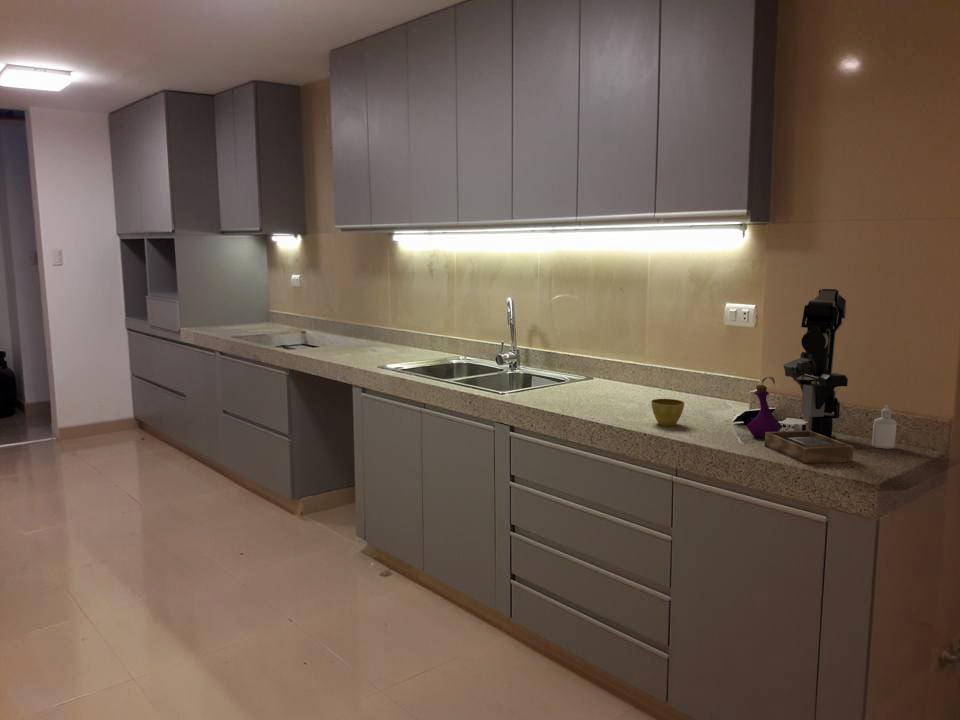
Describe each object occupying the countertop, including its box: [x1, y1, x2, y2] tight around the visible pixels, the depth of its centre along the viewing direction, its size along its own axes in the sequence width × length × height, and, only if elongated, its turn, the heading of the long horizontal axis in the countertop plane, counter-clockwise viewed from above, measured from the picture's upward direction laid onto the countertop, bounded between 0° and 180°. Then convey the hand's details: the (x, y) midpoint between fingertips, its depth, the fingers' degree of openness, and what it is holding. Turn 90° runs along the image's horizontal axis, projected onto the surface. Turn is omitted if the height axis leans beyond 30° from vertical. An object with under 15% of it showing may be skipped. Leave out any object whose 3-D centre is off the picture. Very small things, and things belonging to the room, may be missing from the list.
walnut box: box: [764, 430, 854, 464], centre depth 208 cm, size 18×14×4 cm
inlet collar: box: [788, 437, 833, 448], centre depth 207 cm, size 8×8×3 cm
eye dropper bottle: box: [871, 404, 898, 450], centre depth 215 cm, size 4×6×12 cm
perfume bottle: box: [746, 376, 783, 440], centre depth 225 cm, size 8×8×18 cm
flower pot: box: [650, 398, 685, 427], centre depth 241 cm, size 10×10×7 cm
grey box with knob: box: [800, 381, 825, 418], centre depth 205 cm, size 4×4×9 cm
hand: (812, 407), depth 205 cm, fingers closed on grey box with knob, 4 cm apart
